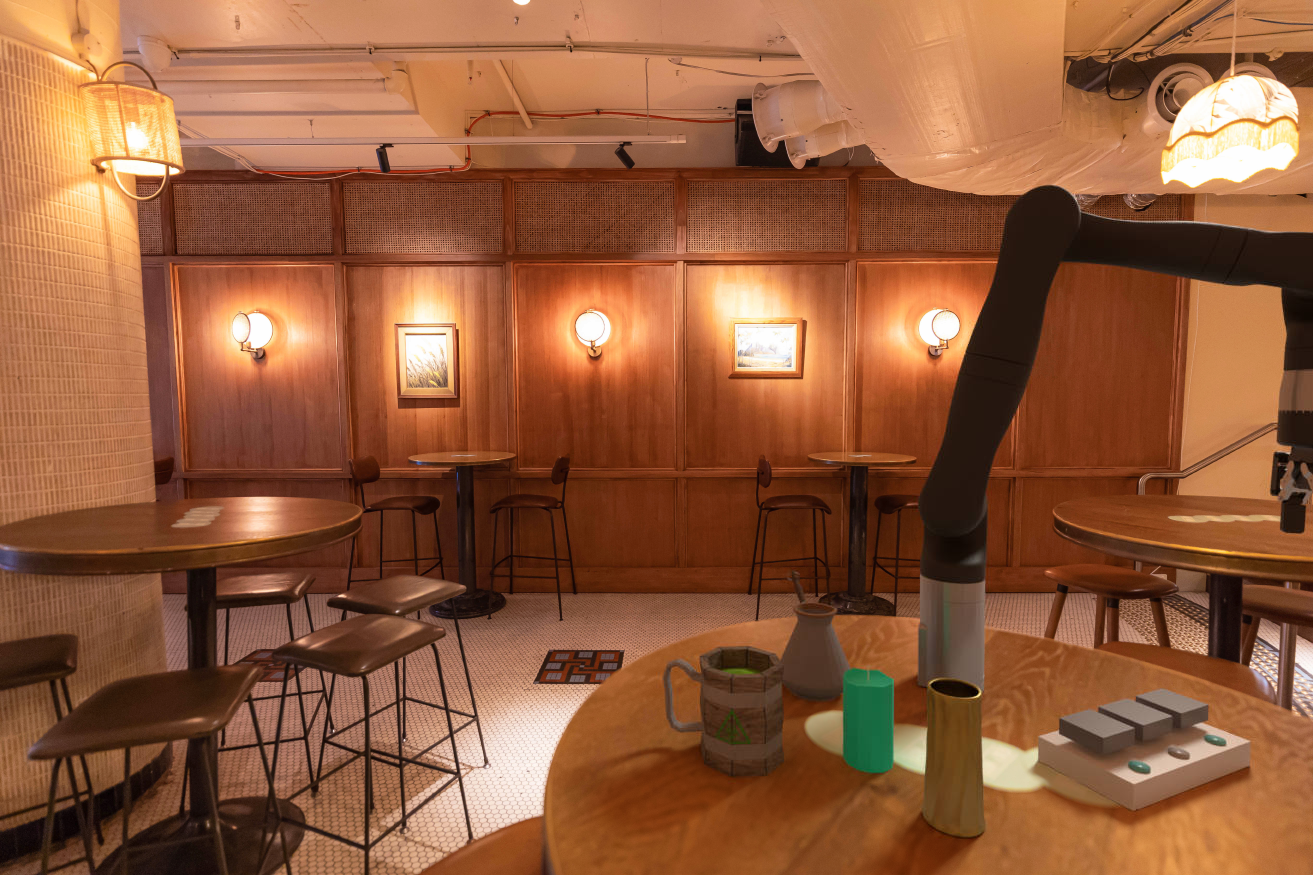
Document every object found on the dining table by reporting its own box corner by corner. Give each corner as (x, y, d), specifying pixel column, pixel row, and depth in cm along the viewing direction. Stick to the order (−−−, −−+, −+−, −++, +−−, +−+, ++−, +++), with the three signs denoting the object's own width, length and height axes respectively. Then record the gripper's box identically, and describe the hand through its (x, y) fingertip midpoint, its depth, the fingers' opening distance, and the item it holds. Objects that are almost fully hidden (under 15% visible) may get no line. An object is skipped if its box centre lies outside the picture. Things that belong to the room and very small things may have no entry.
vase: (911, 803, 71) (912, 676, 70) (964, 800, 71) (965, 674, 71) (940, 840, 65) (941, 702, 64) (998, 836, 65) (1000, 699, 65)
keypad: (1133, 811, 69) (1133, 781, 69) (1038, 759, 79) (1038, 733, 79) (1249, 765, 78) (1250, 738, 77) (1150, 724, 88) (1150, 700, 88)
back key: (1180, 729, 78) (1181, 713, 78) (1135, 710, 83) (1135, 695, 83) (1208, 720, 81) (1208, 704, 80) (1162, 702, 85) (1162, 688, 85)
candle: (897, 775, 76) (898, 676, 76) (845, 770, 77) (845, 672, 77) (889, 749, 82) (890, 657, 82) (841, 744, 83) (841, 653, 83)
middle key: (1142, 741, 76) (1143, 725, 76) (1097, 722, 80) (1098, 706, 80) (1172, 732, 78) (1172, 715, 78) (1126, 713, 83) (1127, 698, 82)
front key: (1102, 755, 73) (1103, 737, 73) (1058, 733, 78) (1059, 717, 78) (1134, 744, 75) (1134, 727, 75) (1089, 724, 80) (1090, 708, 80)
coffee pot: (863, 706, 94) (863, 605, 93) (785, 708, 94) (784, 606, 93) (824, 651, 115) (824, 568, 114) (760, 652, 115) (760, 569, 114)
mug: (789, 739, 85) (789, 650, 84) (777, 785, 75) (777, 684, 74) (676, 721, 90) (675, 637, 89) (650, 762, 80) (649, 667, 79)
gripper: (1250, 407, 86) (1244, 527, 87) (1319, 408, 73) (1310, 549, 74) (1322, 407, 84) (1315, 531, 85) (1407, 408, 70) (1397, 555, 71)
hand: (1312, 539), depth 79 cm, fingers open, 8 cm apart
